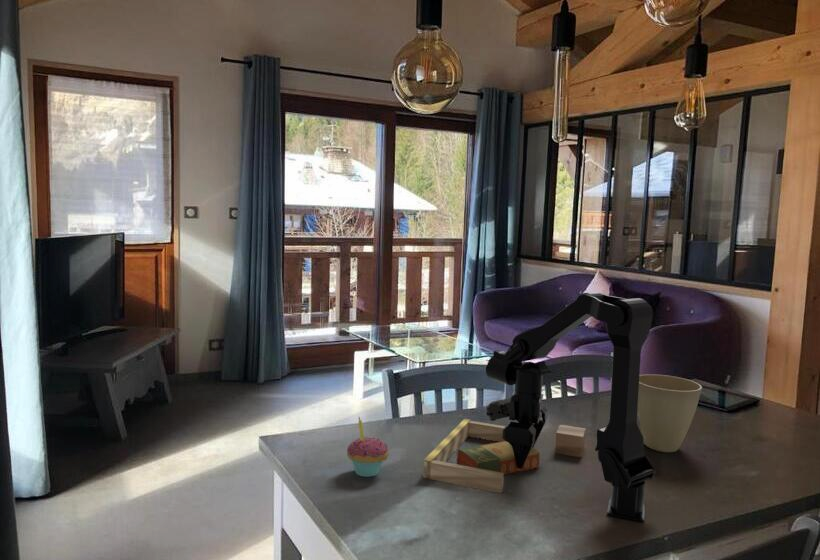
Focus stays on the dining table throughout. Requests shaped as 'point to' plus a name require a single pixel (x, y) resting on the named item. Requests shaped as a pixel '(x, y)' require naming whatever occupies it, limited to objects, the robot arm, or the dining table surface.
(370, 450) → the cupcake
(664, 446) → the plant pot
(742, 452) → the dining table surface
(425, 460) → the dock bay
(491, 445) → the carton
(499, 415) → the robot arm
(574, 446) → the cardboard box
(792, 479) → the dining table surface
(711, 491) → the dining table surface
